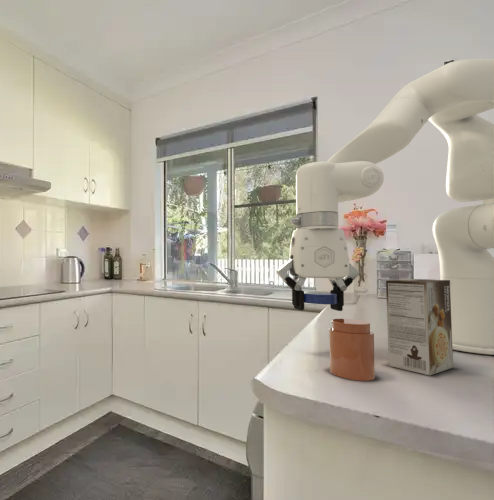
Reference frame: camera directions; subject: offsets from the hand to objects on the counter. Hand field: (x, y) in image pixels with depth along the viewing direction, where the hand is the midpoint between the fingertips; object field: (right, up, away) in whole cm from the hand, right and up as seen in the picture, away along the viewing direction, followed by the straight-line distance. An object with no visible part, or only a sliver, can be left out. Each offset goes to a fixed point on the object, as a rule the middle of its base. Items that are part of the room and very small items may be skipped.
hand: (317, 309), depth 69 cm
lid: (0, +3, 0) cm, 3 cm away
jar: (-1, -9, -11) cm, 14 cm away
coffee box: (+15, -10, -7) cm, 19 cm away
